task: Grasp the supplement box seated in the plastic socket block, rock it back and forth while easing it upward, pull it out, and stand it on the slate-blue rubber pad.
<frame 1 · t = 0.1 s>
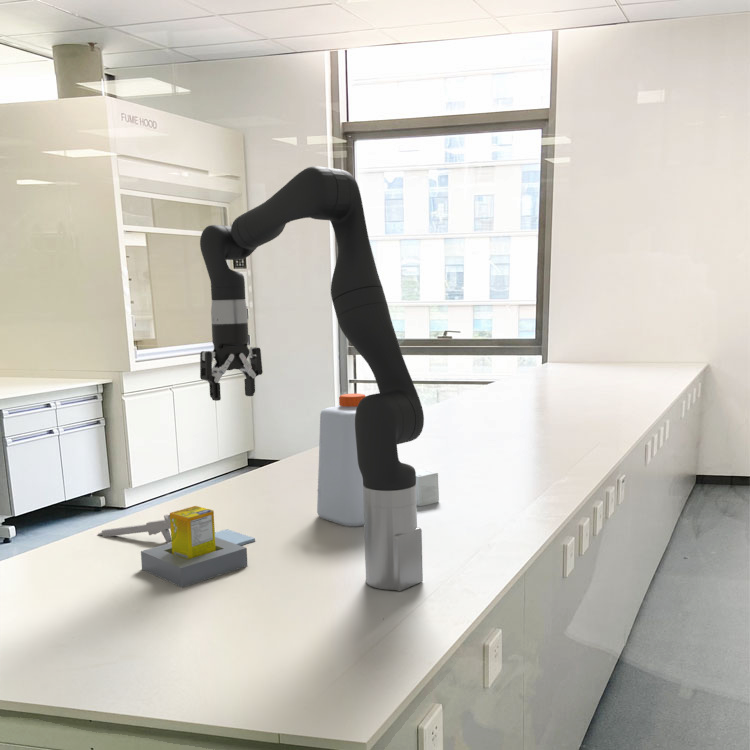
hand: (233, 398, 161), 29 cm above the lab bench, fingers open, 8 cm apart
pad: (221, 542, 157), on the lab bench
socket block: (194, 567, 142), on the lab bench
supplement box: (194, 568, 142), resting in socket block
caliper: (137, 540, 161), on the lab bench
skincare box: (421, 502, 184), on the lab bench
plastic bottle: (356, 517, 173), on the lab bench
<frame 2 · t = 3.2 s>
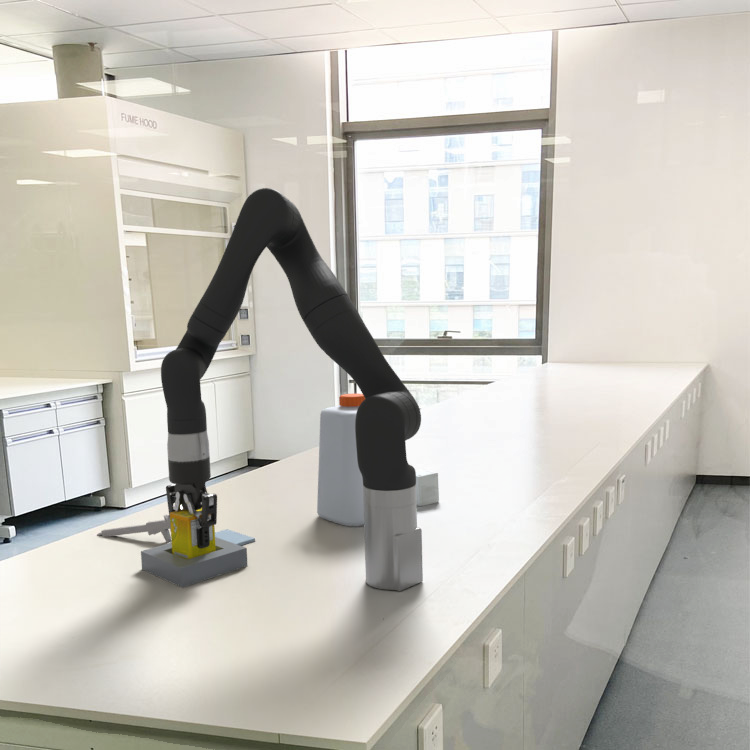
hand: (193, 543, 142), 5 cm above the lab bench, fingers closed on supplement box, 6 cm apart
supplement box: (194, 568, 142), resting in socket block, touching gripper
everything else where it was.
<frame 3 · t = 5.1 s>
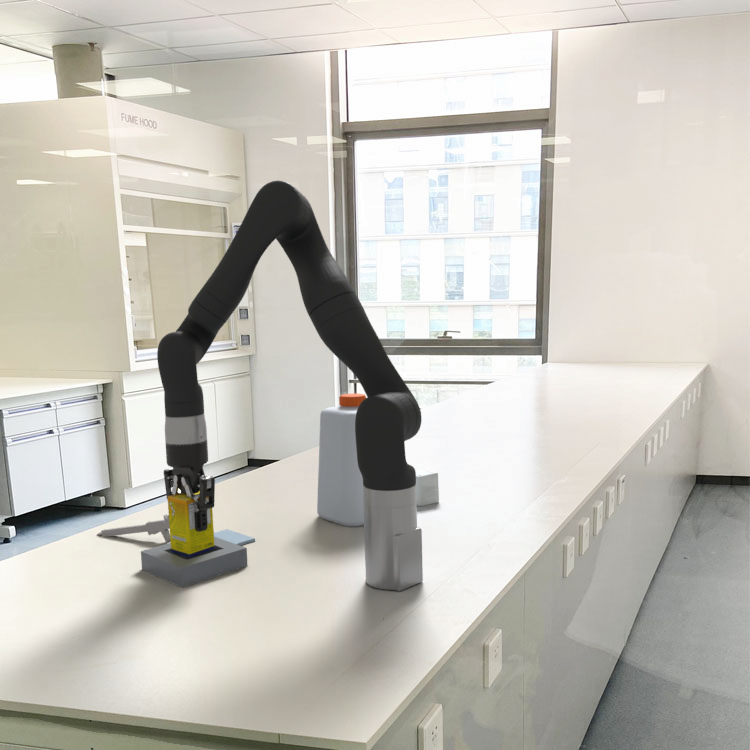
hand: (191, 526, 142), 8 cm above the lab bench, fingers closed on supplement box, 6 cm apart
supplement box: (192, 552, 142), point 3 cm above the lab bench, touching gripper
everything else where it was.
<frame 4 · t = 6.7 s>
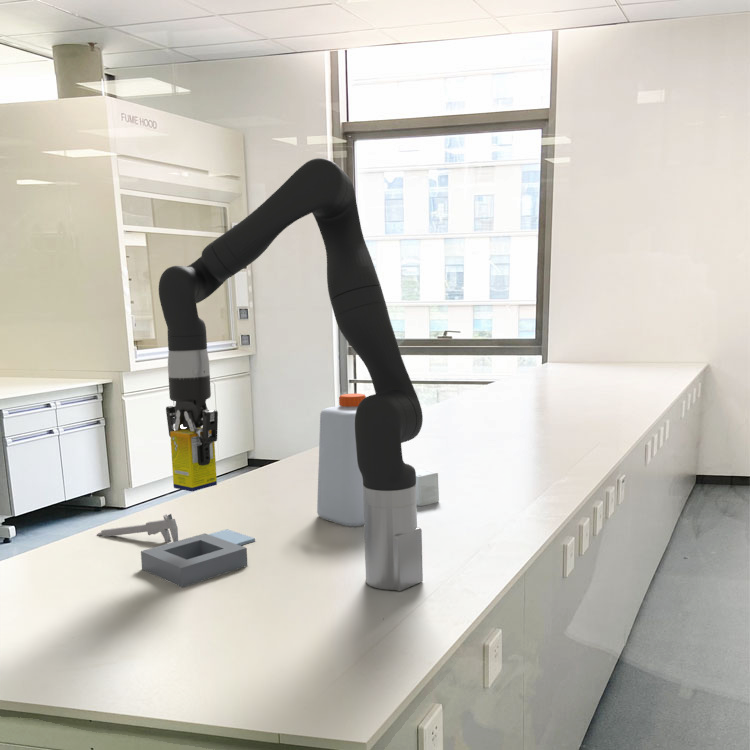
hand: (193, 462, 143), 20 cm above the lab bench, fingers closed on supplement box, 6 cm apart
supplement box: (195, 487, 143), point 15 cm above the lab bench, touching gripper
everything else where it was.
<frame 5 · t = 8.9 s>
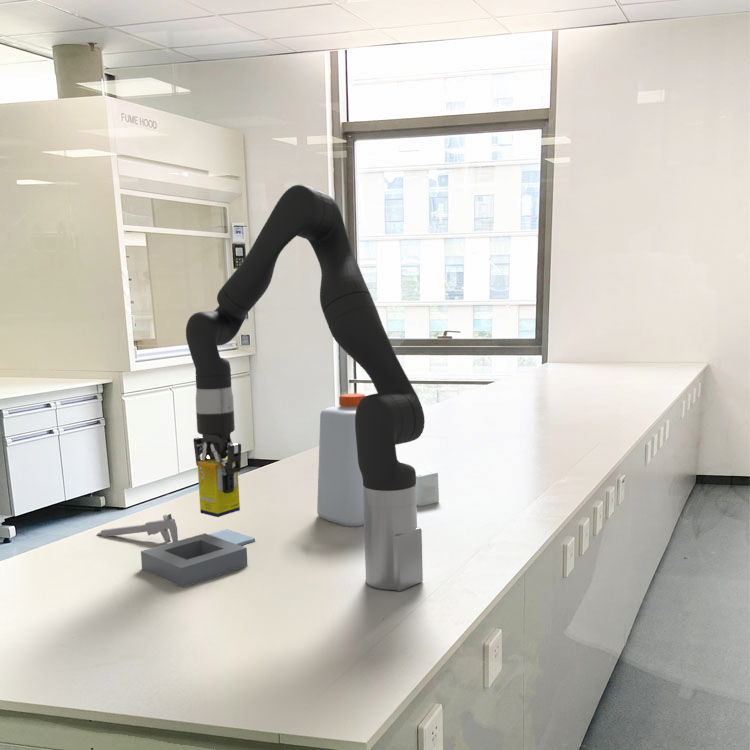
hand: (219, 489, 156), 11 cm above the lab bench, fingers closed on supplement box, 6 cm apart
supplement box: (220, 513, 157), point 6 cm above the lab bench, touching gripper
everything else where it was.
when the fingers open (6 cm above the lab bench, at t = 10.4 s): supplement box stays where it is, resting on pad.
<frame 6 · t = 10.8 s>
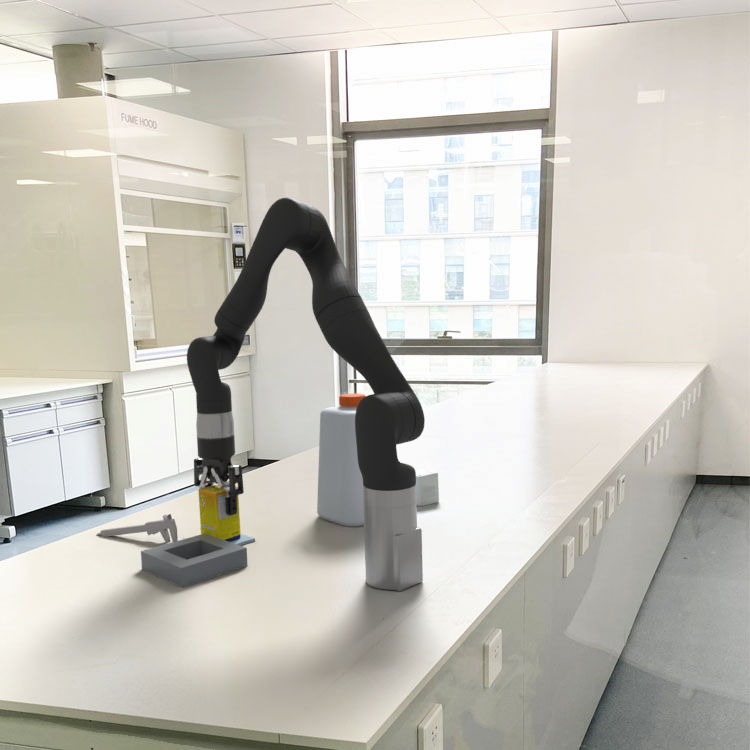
hand: (219, 511, 157), 7 cm above the lab bench, fingers open, 8 cm apart
supplement box: (220, 540, 157), resting on pad
everything else where it was.
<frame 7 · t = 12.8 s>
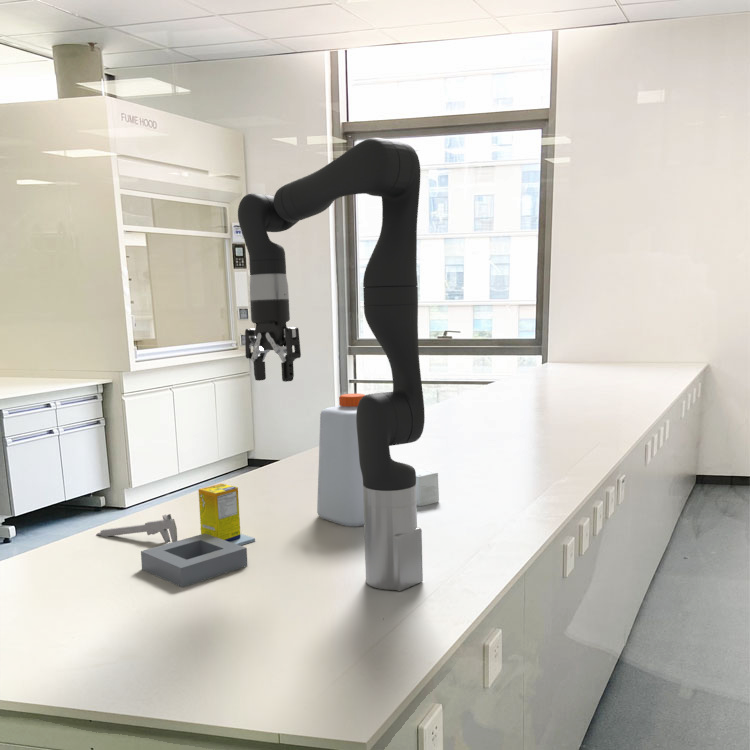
hand: (273, 380, 150), 34 cm above the lab bench, fingers open, 8 cm apart
nothing on the lab bench moved.
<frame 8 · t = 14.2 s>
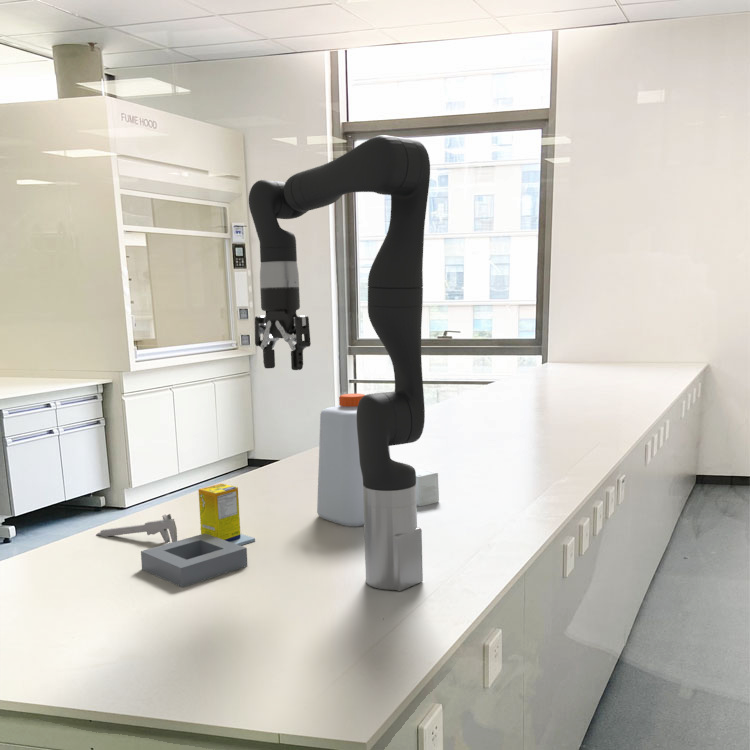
hand: (283, 369, 149), 36 cm above the lab bench, fingers open, 8 cm apart
nothing on the lab bench moved.
at the end: supplement box inside the target area on the pad (0.0 cm from its centre), point 0.4 cm above the pad's base; supplement box tilted 0°; the gripper is holding nothing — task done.
